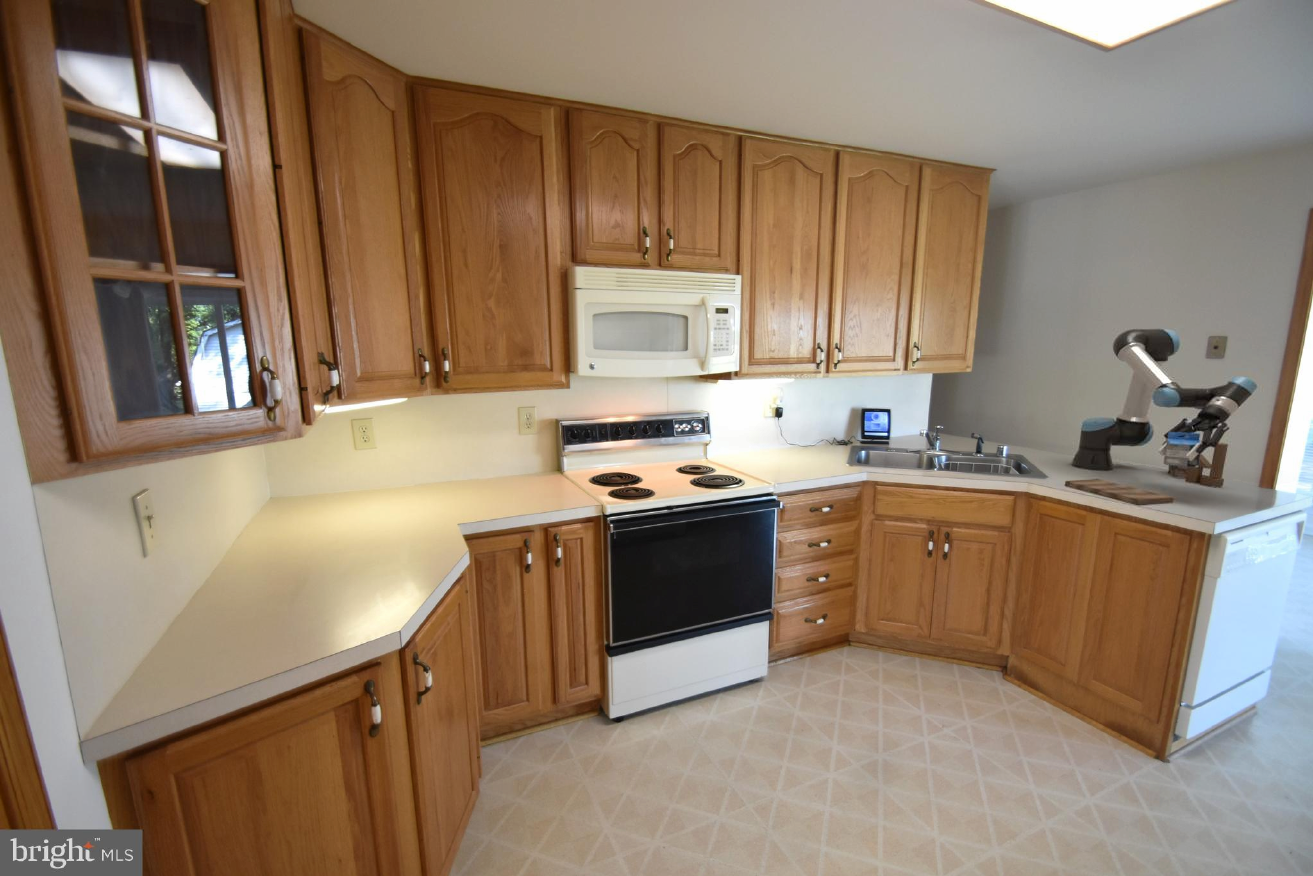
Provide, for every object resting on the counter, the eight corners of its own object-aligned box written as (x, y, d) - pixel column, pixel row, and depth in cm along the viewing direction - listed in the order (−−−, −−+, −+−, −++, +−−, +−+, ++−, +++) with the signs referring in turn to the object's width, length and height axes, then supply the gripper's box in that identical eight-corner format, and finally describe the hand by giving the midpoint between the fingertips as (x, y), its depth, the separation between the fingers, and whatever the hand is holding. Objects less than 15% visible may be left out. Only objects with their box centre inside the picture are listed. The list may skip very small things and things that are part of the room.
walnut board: (1064, 485, 218) (1065, 480, 218) (1096, 483, 221) (1096, 478, 221) (1138, 505, 191) (1139, 499, 191) (1172, 502, 194) (1173, 497, 194)
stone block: (1194, 479, 228) (1202, 434, 225) (1173, 478, 231) (1181, 432, 228) (1181, 473, 240) (1189, 429, 237) (1161, 471, 243) (1168, 428, 240)
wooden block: (1190, 481, 226) (1197, 439, 223) (1222, 487, 216) (1231, 444, 213) (1184, 481, 225) (1191, 440, 222) (1216, 488, 215) (1225, 444, 212)
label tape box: (1165, 465, 198) (1171, 432, 196) (1162, 463, 202) (1168, 431, 200) (1198, 468, 194) (1204, 434, 192) (1194, 466, 197) (1200, 433, 195)
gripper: (1179, 401, 206) (1139, 443, 206) (1248, 408, 185) (1203, 454, 185) (1188, 415, 208) (1148, 456, 208) (1257, 422, 187) (1213, 468, 187)
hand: (1174, 455), depth 197 cm, fingers closed on label tape box, 8 cm apart
